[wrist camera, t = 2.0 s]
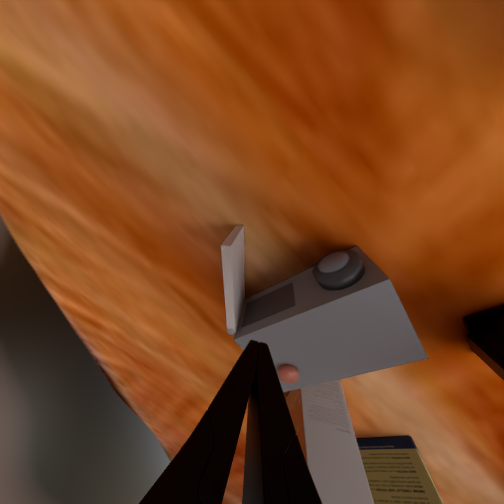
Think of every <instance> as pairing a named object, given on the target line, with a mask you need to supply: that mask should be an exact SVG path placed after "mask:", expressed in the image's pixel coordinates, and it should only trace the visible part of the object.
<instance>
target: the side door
mask: <svg viewBox="0 0 504 504" xmlns="http://www.w3.org/2000/svg"><path fill="white" fill-rule="evenodd" d="M221 255H222V268H223V282H224V295H225V308H226V321H227V333H228V334H231V335H234V334H235V333H236V329H237V326H238V322H239V318H240V315H241V311H242V307H243V303H244V300H245V265H244V225H236V226H235V227H234V229H233V230H232V231H231V233H229V234H228V236H227V237H226V239H225V241H224V242H223V243H222V245H221Z"/></svg>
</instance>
